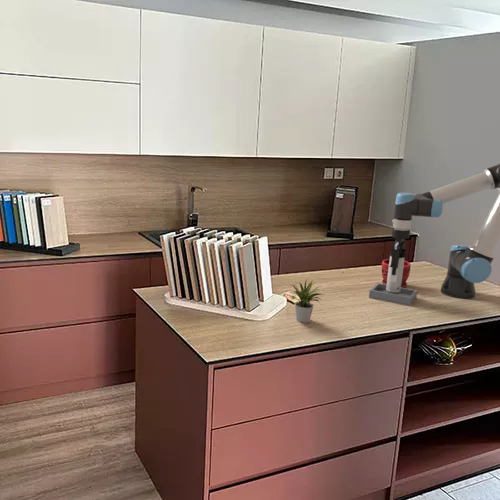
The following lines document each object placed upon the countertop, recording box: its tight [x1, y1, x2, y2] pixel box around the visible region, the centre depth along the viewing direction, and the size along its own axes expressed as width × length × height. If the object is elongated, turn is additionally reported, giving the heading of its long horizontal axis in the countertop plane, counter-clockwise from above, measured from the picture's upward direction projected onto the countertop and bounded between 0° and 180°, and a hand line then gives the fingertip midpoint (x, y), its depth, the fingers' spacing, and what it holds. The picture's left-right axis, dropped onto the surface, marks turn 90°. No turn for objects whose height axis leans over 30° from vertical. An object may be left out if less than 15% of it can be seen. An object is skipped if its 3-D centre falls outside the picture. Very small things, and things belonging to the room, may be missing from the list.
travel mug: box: [386, 248, 407, 295], centre depth 247 cm, size 6×7×20 cm
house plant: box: [289, 278, 325, 323], centre depth 214 cm, size 14×14×16 cm
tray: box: [368, 282, 418, 307], centre depth 250 cm, size 18×13×4 cm
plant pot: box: [381, 258, 412, 288], centre depth 266 cm, size 13×13×12 cm
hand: (395, 279), depth 248 cm, fingers closed on travel mug, 6 cm apart
